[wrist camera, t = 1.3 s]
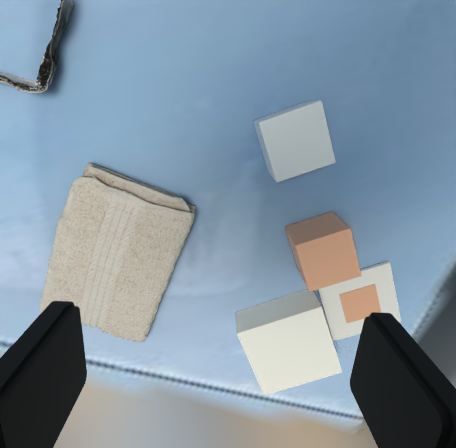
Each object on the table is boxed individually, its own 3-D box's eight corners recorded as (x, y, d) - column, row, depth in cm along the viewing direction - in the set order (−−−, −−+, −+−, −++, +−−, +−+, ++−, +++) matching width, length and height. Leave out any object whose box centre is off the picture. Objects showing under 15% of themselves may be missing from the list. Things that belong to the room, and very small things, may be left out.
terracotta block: (331, 211, 32) (350, 228, 28) (342, 253, 34) (361, 276, 29) (284, 226, 33) (295, 245, 28) (296, 267, 34) (309, 292, 30)
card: (388, 260, 34) (390, 263, 34) (399, 319, 37) (401, 322, 36) (316, 282, 35) (317, 285, 35) (332, 339, 38) (333, 341, 37)
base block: (310, 285, 36) (321, 306, 32) (330, 346, 38) (342, 372, 35) (235, 310, 36) (236, 333, 33) (260, 368, 39) (264, 395, 36)
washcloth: (201, 198, 32) (199, 207, 29) (150, 336, 38) (144, 355, 35) (84, 155, 30) (69, 160, 28) (48, 305, 36) (33, 322, 33)
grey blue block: (305, 101, 29) (321, 100, 24) (318, 154, 30) (335, 162, 26) (252, 120, 29) (258, 122, 25) (268, 171, 31) (276, 182, 26)
